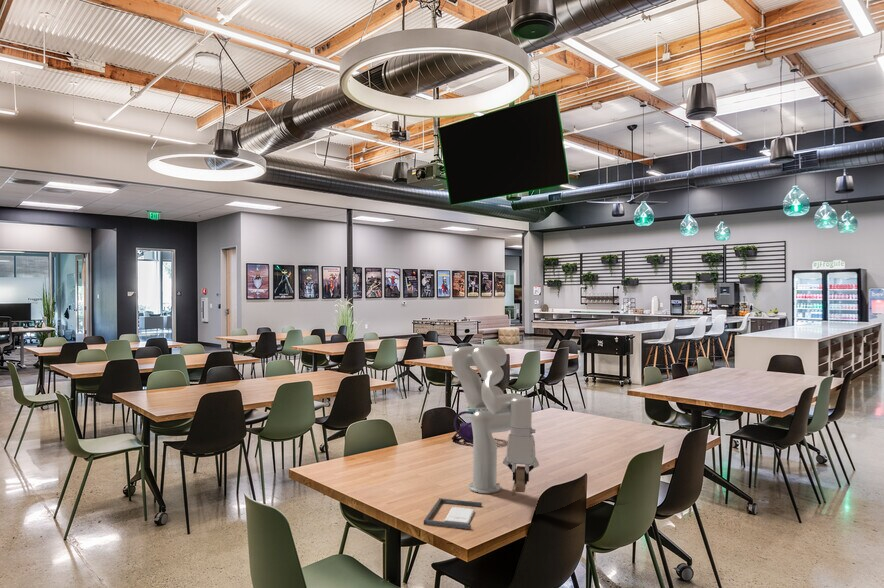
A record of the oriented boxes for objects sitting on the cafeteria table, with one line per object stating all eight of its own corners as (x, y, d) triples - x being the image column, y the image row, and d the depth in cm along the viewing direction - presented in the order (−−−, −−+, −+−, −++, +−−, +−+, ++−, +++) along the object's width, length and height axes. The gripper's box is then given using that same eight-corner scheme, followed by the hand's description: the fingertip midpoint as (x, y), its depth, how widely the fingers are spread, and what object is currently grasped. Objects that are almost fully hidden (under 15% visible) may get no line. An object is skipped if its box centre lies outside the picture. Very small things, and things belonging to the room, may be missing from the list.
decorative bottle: (462, 434, 310) (462, 390, 311) (496, 438, 300) (496, 393, 301) (443, 442, 291) (444, 395, 291) (479, 447, 281) (480, 399, 281)
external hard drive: (474, 513, 193) (467, 527, 181) (451, 511, 195) (444, 524, 183) (474, 509, 193) (467, 522, 181) (451, 506, 195) (444, 519, 183)
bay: (439, 501, 203) (439, 498, 203) (481, 505, 199) (481, 502, 199) (423, 524, 182) (423, 520, 182) (470, 529, 178) (470, 525, 178)
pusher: (515, 484, 202) (515, 462, 202) (526, 484, 201) (526, 463, 201) (512, 495, 191) (512, 472, 191) (523, 496, 190) (523, 473, 190)
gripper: (544, 430, 198) (544, 481, 197) (499, 428, 202) (499, 478, 201) (543, 435, 191) (543, 488, 190) (497, 432, 195) (496, 484, 194)
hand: (520, 482), depth 196 cm, fingers closed on pusher, 3 cm apart
